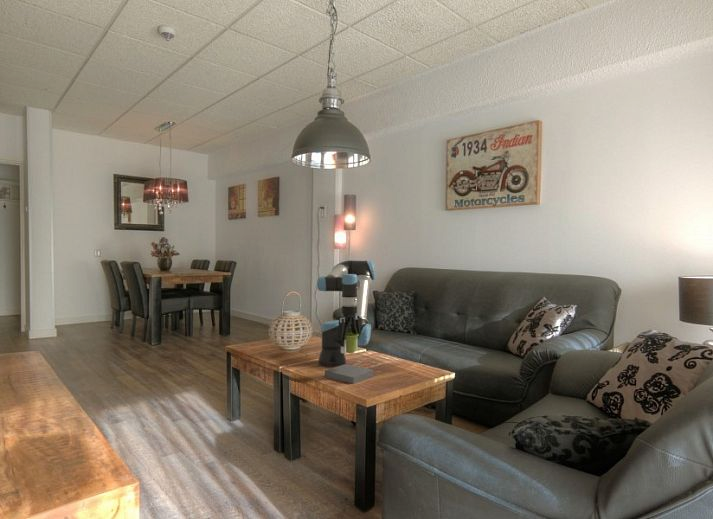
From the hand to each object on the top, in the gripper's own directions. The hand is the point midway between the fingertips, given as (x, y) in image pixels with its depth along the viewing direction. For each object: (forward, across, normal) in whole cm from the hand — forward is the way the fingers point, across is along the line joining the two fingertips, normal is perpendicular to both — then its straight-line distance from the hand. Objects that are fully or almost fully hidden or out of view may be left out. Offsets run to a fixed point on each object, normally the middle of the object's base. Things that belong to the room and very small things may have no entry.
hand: (349, 351), depth 209 cm
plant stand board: (+12, 0, 0) cm, 12 cm away
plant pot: (+1, 0, 0) cm, 1 cm away
